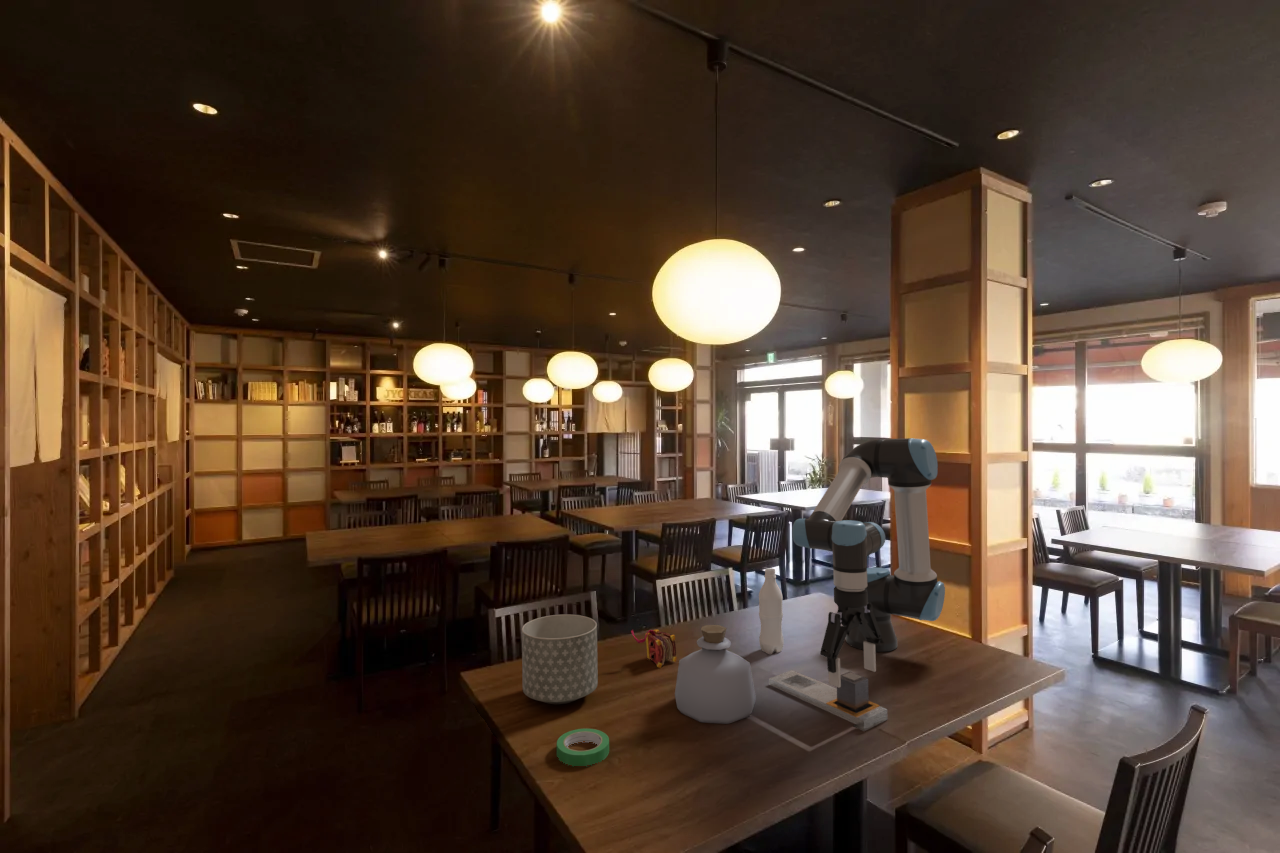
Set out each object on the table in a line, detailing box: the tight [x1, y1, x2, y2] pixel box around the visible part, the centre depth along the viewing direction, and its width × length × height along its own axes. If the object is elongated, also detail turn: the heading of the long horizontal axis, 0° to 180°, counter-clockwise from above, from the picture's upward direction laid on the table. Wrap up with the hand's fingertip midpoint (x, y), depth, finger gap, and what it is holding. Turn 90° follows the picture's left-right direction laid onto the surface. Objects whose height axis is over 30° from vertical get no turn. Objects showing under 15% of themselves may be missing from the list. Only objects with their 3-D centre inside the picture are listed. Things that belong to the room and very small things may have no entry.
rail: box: [768, 669, 888, 732], centre depth 143 cm, size 9×28×3 cm, turn 35°
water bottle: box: [758, 567, 785, 655], centre depth 178 cm, size 7×7×25 cm
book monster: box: [630, 629, 678, 669], centre depth 170 cm, size 11×9×12 cm
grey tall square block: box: [836, 671, 870, 713], centre depth 137 cm, size 5×5×8 cm
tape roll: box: [556, 727, 610, 767], centre depth 123 cm, size 11×11×3 cm
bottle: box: [674, 624, 757, 725], centre depth 143 cm, size 20×20×19 cm
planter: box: [521, 614, 599, 705], centre depth 149 cm, size 19×19×18 cm
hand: (852, 677), depth 137 cm, fingers open, 13 cm apart
